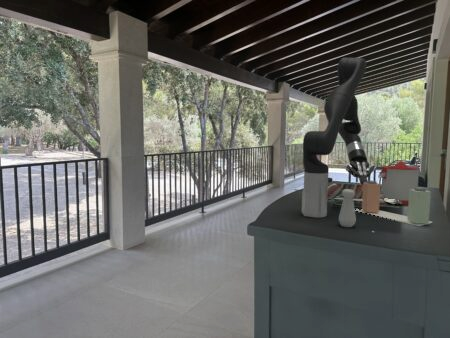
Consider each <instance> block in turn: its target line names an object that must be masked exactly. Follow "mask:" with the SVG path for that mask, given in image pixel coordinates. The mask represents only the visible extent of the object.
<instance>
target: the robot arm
mask: <svg viewBox="0 0 450 338" xmlns="http://www.w3.org/2000/svg"><path fill="white" fill-rule="evenodd" d="M366 70H367V61H366V60H365V58H362V57H342V58H340V60H339V61H338V64H337V80H338V84H339V86H337V87H335V88H334V89H333V90H332V91H331V92H330V93H329V94H328V97H327V99H326V102H325V104H324V107H323V110H324V115H325V118H326V119H327V123H328V124H327V127H326V128H325V129H324V130H323V131H322V130H318V131H317V130H309V131H307V132H306V133H305V134H304V136H303V140H302V141H303V142H302V161H303V162H302V164H303V173H304V174H303V189H302V190H301V214H302V215H303V217H309V218H326V217H327V213H328V190H329V189H328V188H329V186H328V185H329V168H330V167H329V165H328V164H326V163H324V162H322V161H321V160H319V158H318V156H328V155H330V154H331V153H332V151H333V150H334V147H335V145H336V142H337V138H338V135H340V136H339V137H341V139H342V140H343V141H344V143H345V146H346V154H347V157H348V161H349V162H348V163H349V164H348V165H347V166H346V168H345V171H346V172H348V173H349V174H350V175H351V176H352V177H354V178H358V179H359V183H360V184H361V185H362V186H363V182H367V181H369V179H368V178H369V177H370V176H371V174H372V173H373V172H374V170H375V168H376V165H370V163H369V161H368V158H367V154H366V150H365V148H364V146H363V143H362V140H361V137H360V136H359V134H361V131H362V126H361V123H360V120H359V115H358V112H359V111H358V109H359V104H358V103H359V102H358V100H357V97H356V96H355V93H356V91H357V89H358V88H359V85H360V83H361V81H362V80H363V78H364V75H365V74H366ZM343 121H344V122H343ZM367 170H368V172H367Z"/></svg>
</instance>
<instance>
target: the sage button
mask: <svg viewBox="0 0 450 338" xmlns="http://www.w3.org/2000/svg"><path fill="white" fill-rule="evenodd" d="M431 194H432V192H431V191H429V190H427V188H425V187H418V188H415V189H410V190H409V204H408V205H407V206H408V208H407V216H408V218H407V220H409V221H411V222H413V223H424V224H426V225H429V221H430V210H431V196H432V195H431Z"/></svg>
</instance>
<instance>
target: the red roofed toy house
mask: <svg viewBox="0 0 450 338" xmlns="http://www.w3.org/2000/svg"><path fill="white" fill-rule="evenodd" d="M419 175H420V167H417V166H407V164H406V163H405V162H404V161H402V160H400V161H398V162H396V164H395V165H383V166H381V173H379V174H378V176H377V178H378V179H381V191H382V196H383V197H384V198H388V199H395V200H399V201H401V202H402V205H403V206H404V205H405V206H408V204H409V190H410V189H415V188H419ZM384 198H383V199H384Z"/></svg>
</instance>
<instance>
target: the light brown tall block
mask: <svg viewBox="0 0 450 338" xmlns="http://www.w3.org/2000/svg"><path fill="white" fill-rule="evenodd" d="M381 186H382V183H381V184H380V183H378V182H377V181H376V180H368V181H367V182H363V185H362V199H361V200H362V202H361V208H362V210H364V211H365V212H379V210H380V201H381V199H380V198H381V197H380V196H381Z"/></svg>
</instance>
